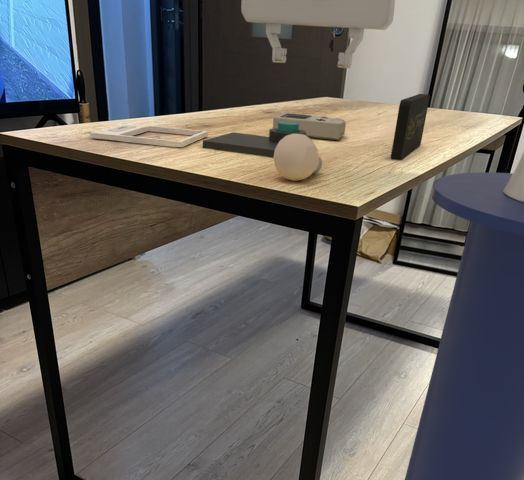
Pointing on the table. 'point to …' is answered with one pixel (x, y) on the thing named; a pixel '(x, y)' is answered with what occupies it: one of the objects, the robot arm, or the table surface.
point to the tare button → (288, 127)
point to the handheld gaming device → (314, 125)
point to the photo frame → (128, 130)
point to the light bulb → (296, 157)
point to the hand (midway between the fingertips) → (310, 65)
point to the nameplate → (409, 125)
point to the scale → (248, 142)
